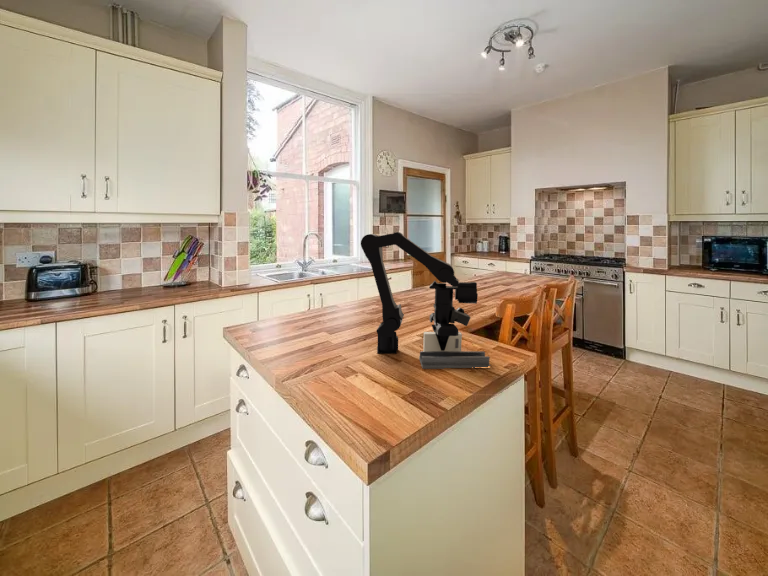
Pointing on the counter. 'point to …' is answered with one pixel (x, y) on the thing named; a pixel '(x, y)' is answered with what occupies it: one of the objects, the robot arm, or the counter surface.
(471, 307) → the counter surface
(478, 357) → the track
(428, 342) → the door panel
